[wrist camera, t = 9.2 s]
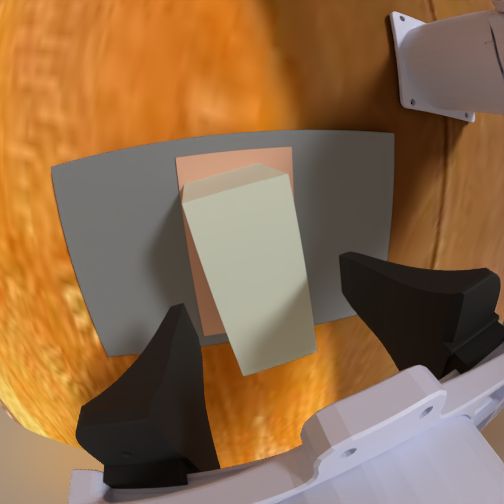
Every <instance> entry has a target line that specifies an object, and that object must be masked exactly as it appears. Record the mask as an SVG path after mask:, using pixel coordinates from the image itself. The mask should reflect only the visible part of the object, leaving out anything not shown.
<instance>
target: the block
mask: <svg viewBox="0 0 504 504" xmlns="http://www.w3.org/2000/svg"><path fill="white" fill-rule="evenodd" d="M182 205H183V209H184V212H185V215H186V218H187V221H188V224H189V227H190V231H191V234H192V237H193V240H194V243H195V246H196V249H197V252H198V255H199V258H200V261H201V264H202V266H203V269H204V272H205V275H206V278H207V281H208V284H209V287H210V289H211V292H212V295H213V298H214V301H215V303H216V306H217V309H218V312H219V314H220V317H221V320H222V322H223V325H224V328H225V330H226V333H227V336H228V338H229V341H230V343H231V346H232V349H233V351H234V354H235V356H236V359H237V361H238V364H239V366H240V369H241V371H242V374H243V376H247V375H250V374H253V373H257V372H260V371H263V370H266V369H269V368H272V367H275V366H278V365H281V364H284V363H287V362H290V361H293V360H296V359H299V358H301V357H304V356H307V355H310V354H312V353H315V352H317V344H316V336H315V329H314V321H313V314H312V307H311V300H310V293H309V287H308V280H307V274H306V268H305V262H304V256H303V250H302V244H301V238H300V233H299V227H298V222H297V216H296V211H295V205H294V200H293V195H292V190H291V185H290V180H289V175H288V174H287V173H284V172H282V171H279V170H277V169H274V168H272V167H269V166H266V165H264V164H261V163H258V164H254V165H250V166H246V167H242V168H239V169H235V170H231V171H228V172H224V173H220V174H217V175H213V176H210V177H206V178H203V179H200V180H196V181H193V182H190V183H186V184H184V190H183V199H182Z"/></svg>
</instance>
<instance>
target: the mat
mask: <svg viewBox="0 0 504 504" xmlns="http://www.w3.org/2000/svg"><path fill="white" fill-rule="evenodd" d="M258 163H261V164H264V165H266V166H269V167H272V168H274V169H277V170H279V171H282V172H284V173H287V174H288V175H289V180H290V185H291V190H292V195H293V200H294V205H295V211H296V216H297V222H298V227H299V233H300V238H301V244H302V250H303V256H304V262H305V268H306V274H307V280H308V287H309V293H310V300H311V307H312V314H313V321H314V325H317V324H322V323H326V322H330V321H334V320H338V319H342V318H346V317H350V316H354V315H357V313H356V312H355V311H354V310H353V308H352V307H351V306H350V304H349V303H348V301H347V300H346V298H345V296H344V295H343V293H342V290H341V277H340V265H339V255H340V254H343V253H346V252H349V251H351V252H356V253H360V254H364V255H367V256H371V257H374V258H377V259H381V260H384V261H387V257H388V249H389V240H390V230H391V219H392V206H393V188H394V133H384V132H369V131H347V130H283V131H261V132H245V133H232V134H221V135H211V136H202V137H194V138H186V139H179V140H172V141H165V142H159V143H153V144H147V145H141V146H136V147H131V148H126V149H121V150H116V151H111V152H107V153H102V154H98V155H94V156H90V157H85V158H81V159H78V160H74V161H70V162H66V163H63V164H59V165H56V166H52V167H51V172H52V178H53V184H54V190H55V195H56V200H57V205H58V210H59V214H60V219H61V223H62V227H63V231H64V235H65V239H66V243H67V246H68V250H69V253H70V257H71V260H72V264H73V267H74V270H75V273H76V276H77V279H78V282H79V285H80V288H81V291H82V294H83V297H84V300H85V302H86V305H87V308H88V310H89V313H90V315H91V318H92V321H93V323H94V325H95V328H96V330H97V333H98V335H99V337H100V340H101V342H102V344H103V346H104V349H105V351H106V353H107V355H108V357H109V356H122V355H134V354H142V352H143V351H144V349H145V348H146V347H147V345H148V343H149V342H150V340H151V339H152V337H153V336H154V334H155V333H156V331H157V329H158V328H159V326H160V324H161V322H162V321H163V319H164V317H165V315H166V314H167V312H168V310H169V308H170V307H171V306H174V305H178V304H181V303H184V305H185V307H186V310H187V312H188V314H189V317H190V319H191V321H192V324H193V326H194V328H195V330H196V333H197V335H198V337H199V342H200V347H201V346H208V345H215V344H221V343H227V342H230V341H229V338H228V336H227V333H226V330H225V328H224V325H223V322H222V320H221V317H220V314H219V312H218V309H217V306H216V303H215V301H214V298H213V295H212V292H211V289H210V287H209V284H208V281H207V278H206V275H205V272H204V269H203V266H202V264H201V261H200V258H199V255H198V252H197V249H196V246H195V243H194V240H193V237H192V234H191V231H190V227H189V224H188V221H187V218H186V215H185V212H184V209H183V205H182V199H183V190H184V184H186V183H190V182H193V181H196V180H200V179H203V178H206V177H210V176H213V175H217V174H220V173H224V172H228V171H231V170H235V169H239V168H242V167H246V166H250V165H254V164H258Z"/></svg>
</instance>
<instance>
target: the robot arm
mask: <svg viewBox="0 0 504 504" xmlns="http://www.w3.org/2000/svg"><path fill="white" fill-rule="evenodd" d="M492 2H493V4H494V6H495V7H496V9H493V10H486V11H480V12H474V13H469V14H464V15H459V16H455V17H450V18H446V19H442V20H438V21H434V22H431V23H427V24H426V23H424V22H422V21H419V20H417V19H414V18H412V17H409V16H406V15H404V14H401V13H398V12H392V13H390V21H391V26H392V32H393V38H394V45H395V52H396V60H397V69H398V78H399V90H400V102H401V105H402V106H403V107H404V108H408V109H414V110H419V111H424V112H429V113H434V114H439V115H443V116H448V117H452V118H456V119H460V120H464V121H467V122H474V120H475V112H481V113H491V114H499V115H504V0H492ZM400 18H401V19H400ZM401 20H402V21H401ZM411 101H412V104H411ZM339 265H340V277H341V290H342V293H343V295H344V296H345V298H346V300H347V301H348V303H349V304H350V306H351V307H352V308H353V310H354V311H355V312H356V313H357V314H358V315H359V317H360V318H361V319H362V320H363V321H364V322H365V323H366V325H367V326H368V327H369V328H370V329H371V330H372V331H373V333H374V334H375V335H376V336H377V337H378V339H379V340H380V341H381V342H382V344H383V345H384V347H385V348H386V350H387V351H388V353H389V354H390V356H391V358H392V359H393V361H394V363H395V364H396V366H397V368H398V369H399V371H400V372H398V373H396V374H394V375H392V376H390V377H389V378H387V379H385V380H383V381H381V382H379V383H376V384H374V385H372V386H370V387H368V388H366V389H364V390H362V391H359V392H357V393H355V394H353V395H350V396H348V397H346V398H343V399H341V400H339V401H336V402H334V403H332V404H330V405H328V406H326V407H324V408H323V409H321V410H319V411H317V412H316V413H315V414H314V415H312V416H311V417H310V418H309V419H308V420H307V421H306V422H305V423H304V425H303V428H302V431H301V434H300V435H301V440H302V445H300V446H298V447H296V448H294V449H291V450H289V451H287V452H285V453H282V454H279V455H275V456H272V457H268V458H265V459H261V460H257V461H253V462H249V463H245V464H241V465H237V466H232V467H227V468H222V469H221V468H220V465H219V462H218V458H217V454H216V451H215V447H214V443H213V439H212V435H211V430H210V426H209V421H208V416H207V411H206V406H205V398H204V382H203V363H202V353H201V347H200V342H199V337H198V335H197V333H196V330H195V328H194V326H193V324H192V321H191V319H190V317H189V314H188V312H187V310H186V307H185V305H184V303H181V304H178V305H174V306H171V307H170V308H169V310H168V312H167V314H166V315H165V317H164V319H163V321H162V322H161V324H160V326H159V328H158V329H157V331H156V333H155V334H154V336H153V337H152V339H151V340H150V342H149V343H148V345H147V347H146V348H145V349H144V351H143V352H142V354H141V355H140V356H139V357H138V359H137V360H136V361H135V362H134V363H133V365H132V366H131V367H130V368H129V369H128V370H127V371H126V372H125V373H124V374H123V375H122V376H121V377H120V378H119V379H118V380H117V381H116V382H115V383H113V384H112V385H111V386H110V387H109V388H107V389H106V390H105V391H104V392H102V393H101V394H100V395H98V396H97V397H95V398H94V399H92V400H91V401H89V402H88V403H86V404H85V405H83V406H82V407H81V411H80V415H79V419H78V424H77V429H76V439H77V441H78V443H79V444H80V445H81V446H82V447H83V448H84V449H85V450H86V451H87V452H88V453H89V454H91V455H92V456H93V457H94V458H96V459H97V460H98V461H100V462H101V463H102V464H104V473H103V472H101V471H98V470H82V469H73V470H72V475H71V483H70V492H69V501H68V504H504V463H503V462H502V461H501V459H500V458H499V457H498V455H497V454H496V453H495V451H494V450H493V449H492V447H491V446H490V445H489V443H488V442H487V441H486V440H485V438H484V437H483V436H482V434H481V433H480V431H481V430H482V429H483V428H484V427H485V426H486V425H487V424H488V423H489V422H490V421H491V420H492V419H493V418H494V417H495V416H496V415H497V414H498V413H499V412H500V411H501V410H502V409H503V408H504V322H503V324H501V323H499V322H498V320H499V315H497V314H496V313H495V312H494V311H495V308H496V304H497V301H498V297H499V293H500V278H499V276H498V275H497V274H495V273H494V272H492V271H490V270H489V269H487V268H480V269H472V270H457V271H443V270H429V269H421V268H415V267H409V266H404V265H400V264H396V263H392V262H388V261H384V260H381V259H377V258H374V257H371V256H367V255H364V254H360V253H356V252H351V251H349V252H346V253H343V254H340V255H339Z"/></svg>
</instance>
